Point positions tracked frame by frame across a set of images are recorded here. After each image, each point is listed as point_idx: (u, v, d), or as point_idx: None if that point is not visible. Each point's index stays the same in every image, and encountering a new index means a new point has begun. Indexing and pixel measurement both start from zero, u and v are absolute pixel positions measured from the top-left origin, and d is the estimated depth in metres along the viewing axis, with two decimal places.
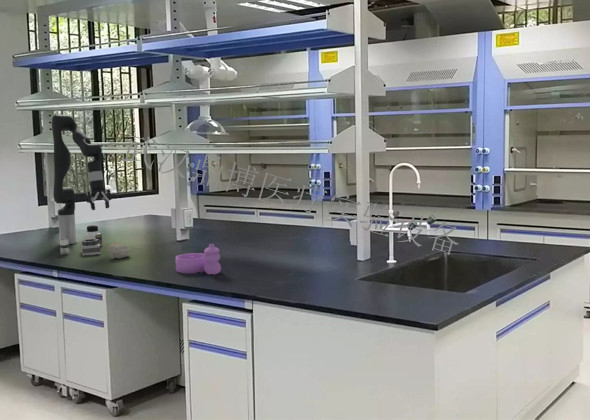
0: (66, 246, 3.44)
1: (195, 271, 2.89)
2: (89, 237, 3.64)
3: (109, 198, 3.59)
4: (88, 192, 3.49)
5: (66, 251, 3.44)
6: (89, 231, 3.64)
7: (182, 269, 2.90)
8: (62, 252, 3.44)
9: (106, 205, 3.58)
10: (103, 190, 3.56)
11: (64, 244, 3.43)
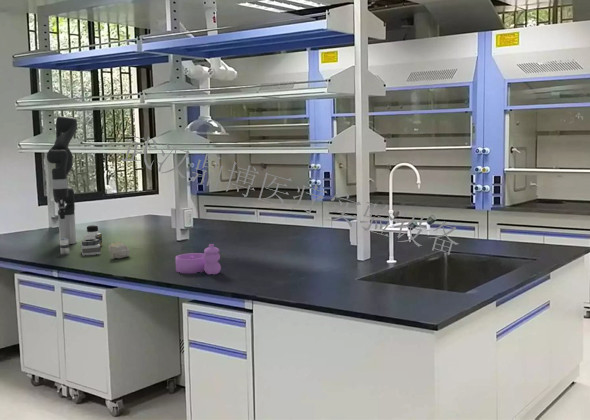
0: (66, 246, 3.44)
1: (195, 271, 2.89)
2: (89, 237, 3.64)
3: (60, 209, 3.37)
4: (58, 198, 3.48)
5: (66, 251, 3.44)
6: (89, 231, 3.64)
7: (182, 269, 2.90)
8: (62, 252, 3.44)
9: None
10: (59, 199, 3.39)
11: (64, 244, 3.43)
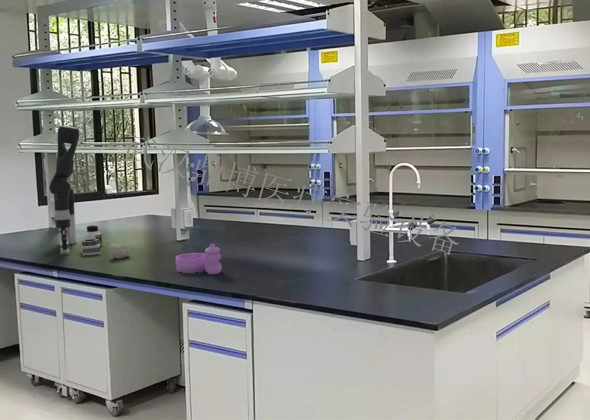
0: None
1: (196, 271, 2.90)
2: (89, 237, 3.64)
3: (62, 240, 3.39)
4: (60, 228, 3.50)
5: (66, 251, 3.44)
6: (89, 231, 3.64)
7: (183, 269, 2.90)
8: (62, 252, 3.44)
9: None
10: (61, 230, 3.41)
11: None
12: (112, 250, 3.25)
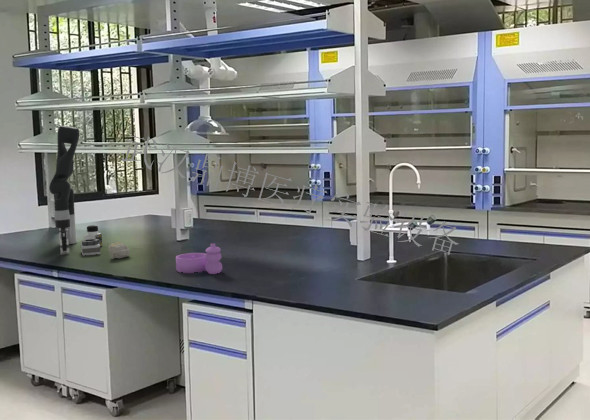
0: None
1: (196, 271, 2.90)
2: (89, 237, 3.64)
3: (62, 241, 3.41)
4: None
5: (66, 251, 3.44)
6: (89, 231, 3.64)
7: (183, 268, 2.90)
8: (62, 252, 3.44)
9: None
10: (61, 230, 3.41)
11: None
12: (112, 250, 3.25)
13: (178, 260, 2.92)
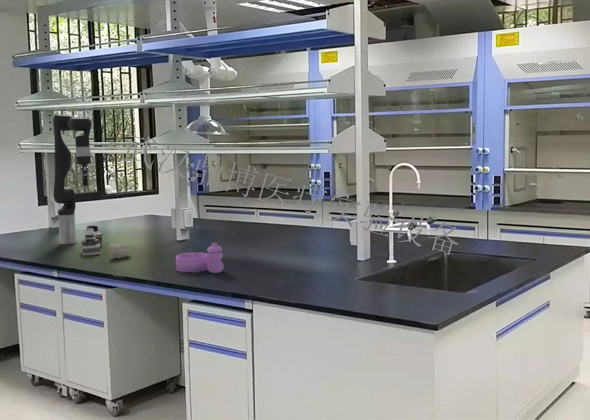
0: (91, 236, 3.44)
1: (197, 270, 2.91)
2: None
3: (83, 176, 3.42)
4: (81, 166, 3.53)
5: None
6: None
7: (184, 268, 2.91)
8: None
9: None
10: (82, 167, 3.45)
11: (89, 233, 3.44)
12: (112, 250, 3.25)
13: (179, 260, 2.92)
